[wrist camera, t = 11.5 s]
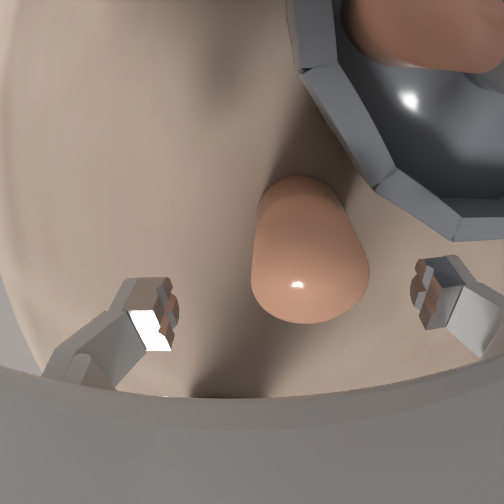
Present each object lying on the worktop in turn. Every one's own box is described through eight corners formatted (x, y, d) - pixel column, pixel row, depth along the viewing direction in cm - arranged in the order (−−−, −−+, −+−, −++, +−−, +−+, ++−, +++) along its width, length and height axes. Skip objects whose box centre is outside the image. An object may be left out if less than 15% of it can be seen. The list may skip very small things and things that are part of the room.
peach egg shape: (334, -27, 7) (375, -77, 3) (425, -10, 7) (498, -31, 2) (343, 62, 9) (396, 57, 5) (433, 73, 9) (513, 87, 5)
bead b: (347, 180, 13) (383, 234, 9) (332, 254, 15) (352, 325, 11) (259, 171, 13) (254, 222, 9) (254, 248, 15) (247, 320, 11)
